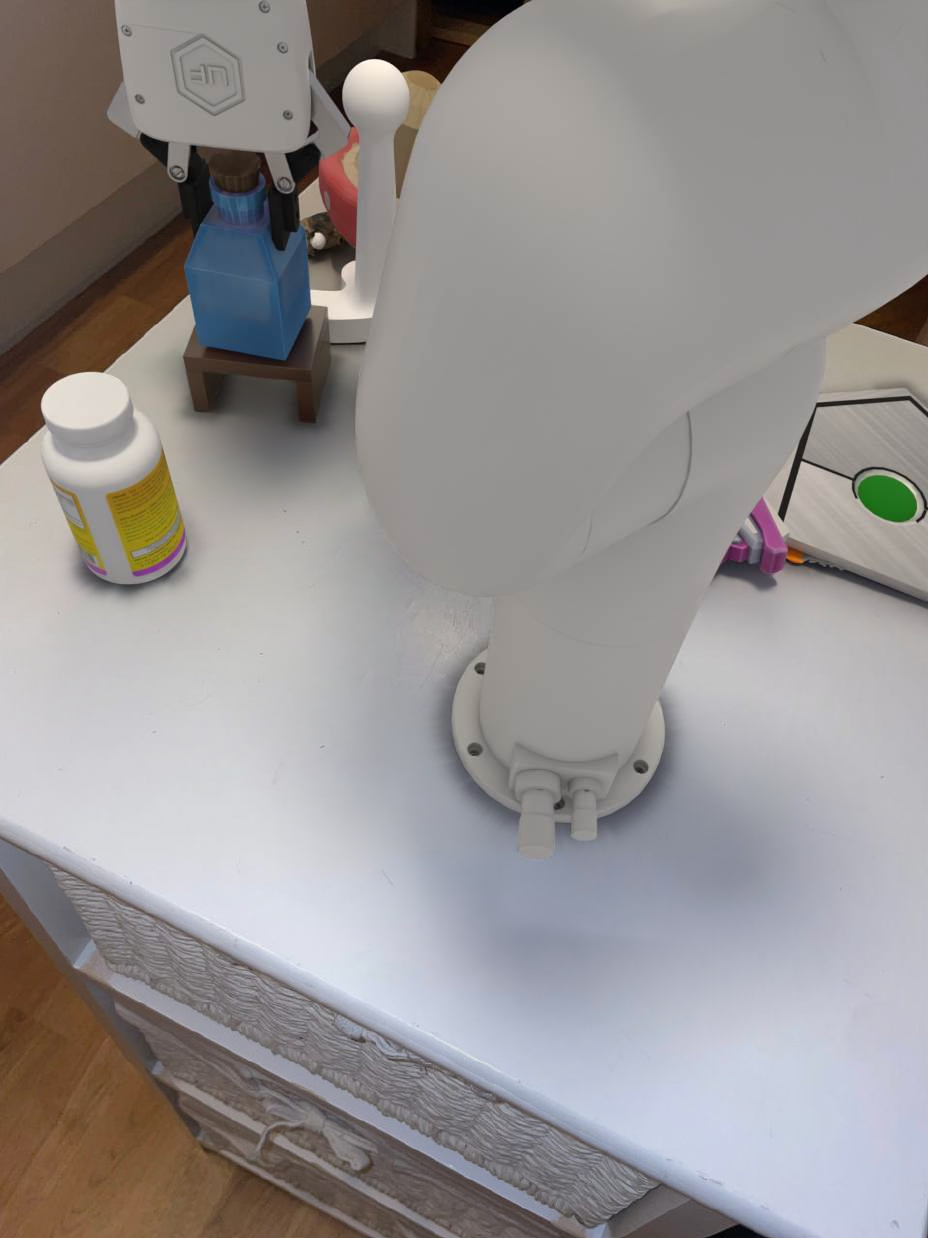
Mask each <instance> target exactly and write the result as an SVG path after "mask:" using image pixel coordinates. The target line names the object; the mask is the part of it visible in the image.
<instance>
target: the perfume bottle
mask: <svg viewBox="0 0 928 1238" xmlns="http://www.w3.org/2000/svg"><path fill="white" fill-rule="evenodd" d="M207 164H208V165H209V170H210V174H211V175H210V180H209V185H210V191H211V197H212V201H213V202H214V205H213V206H212V208H211V209H210V211H209V212H208V214H207V215H206V217H205V218H204V220H203V222H202V223H201V225H200V227H199V230H198V232H197V235H196V237H195V240H194V239H193V242H192V244H191V248H190V250H189V253H188V255H187V258H186V260H185V263H184V265H183V268H184V274H185V278H186V284H187V288H188V295H189V298H190V303H191V308H192V313H193V319H194V325H195V324H196V329H197V334H198V339H199V344H200V345H205V346H210V347H215V348H221V349H226V350H231V351H237V352H242V353H247V354H253V355H258V356H263V357H269V358H274V359H279V360H286V358H287V356H288V354H289V352H290V350H291V348H292V346H293V344H294V342H295V340H296V338H297V336H298V334H299V332H300V329H301V327H302V325H303V323H304V321H305V319H306V317H307V315H308V313H309V311H310V309H311V295H310V290H311V285H310V283H311V282H310V271H309V257H308V254H307V243H306V231H305V229H304V227H303V226H302V225H301V224H299V229H298V232H297V233H295V232H291V233H290V236H289V240H288V243H287V246H286V249H285V251H278V250H277V249H276V247H275V244H274V243H273V241H272V234H271V224H270V215H269V206H268V192H267V191H268V189H267V183H266V179H265V175H264V174H262V173H261V169H262V168H261V166H262V162H261V158H260V156H258V154H256V153H255V152H252V151H242V150H233V149H224V150H223V149H222V150H220V151H218V152H216V153H213V154H212V156H210V157H209V160H208V163H207Z"/></svg>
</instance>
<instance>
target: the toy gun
mask: <svg viewBox="0 0 928 1238" xmlns="http://www.w3.org/2000/svg"><path fill="white" fill-rule="evenodd" d="M789 534H790V531H789V530H788V528H787V527H786V526H785V524H784V523H783V521H782V520H781V519H780V517H779V516H778V514H777V513H776V512H775V510H774V509H773V507H772V506H771V505H770V503H769V502H768V500H767V499H764V498H763V496H762V497H761V499H760V500H759V502H758V503H757V505H756V506H755V507H754V509H753V510H752V512H751V513H750V514H749V516H748V517H747V519H746V520H745V522H744V523H743V525H742V526H741V528H740V529H739V531H738V533H737V534H736V536H735V538H734V539H733V541H732V543H731V545H730V546H729V548H728V550H727V552H726V554H725V556H724V557H723V559H722V561H721V563H720V565H722V564H723V563H725V562H726V561H727V560H730V561H734V562H736V563H737V562H738V563H742V562H745V561H747V563H748V564H759V569H760V571H762V572H763V573H765V574H766V575H772V574H776V573H778V572H780V571H782V570H783V568H784V567H785V564H786V560H787V559H786V556H787V552H788V548H787V546H786V544H785V541H786V540H787V539H788V537H789Z"/></svg>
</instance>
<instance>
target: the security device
mask: <svg viewBox="0 0 928 1238" xmlns="http://www.w3.org/2000/svg"><path fill="white" fill-rule="evenodd" d="M763 498H764V499H767V500H768V502H769V503H770V505H771V506H772V507H773V509H774V510H775V512H776V513H777V514H778V516H779V517H780V519H781V520H782V521H783V523H784V524H785V526H786V527H787V528H788V530H789V531H790V534H789V537H788V539H787V540H786V541H785V544H786V546H788V547H791V548H793V549H796V550H798V551H801V552H803V553H806V554H808V555H811V556H813V557H816V558H818V559H821V560H823V561H826V562H829V563H832V564H835V565H838V566H841V567H844V568H847V570H846V571H848V572H851V573H854V574H856V575H858V576H861V577H864V578H866V579H868V580H870V581H874V582H876V583H879V584H880V585H883V586H885V587H889V588H891V589H893V590H896V591H897V592H901V593H903V594H906V595H908V596H910V597H914V598H915V599H919V600H920V601H923V602H926V603H928V406H926V405H925V403H923V401H921V400H920V399H918V398H917V397H916V396H915V395H914V394H913V393H912V392H911V391H909V390H908V389H907V388H906V387H898V388H896V387H895V388H883V389H867V390H852V391H851V390H850V391H835V392H822V393H821V392H820V393H819V397H818V400H817V402H816V405H815V408H814V411H813V413H812V415H811V418H810V420H809V422H808V424H807V426H806V428H805V430H804V432H803V434H802V437H801V439H800V440H799V442H798V444H797V445H796V447H795V449H794V450H793V452H792V454H791V455H790V457H789V458H788V460H787V462H786V463H785V465H784V466H783V468H782V469H781V470H780V472H779V473H778V475H777V476H776V478H775V479H774V480H773V482H772V483H771V485H770V486H769V488H768V489H767V490H766V492H765V493H764V495H763Z"/></svg>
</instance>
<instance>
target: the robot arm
mask: <svg viewBox="0 0 928 1238" xmlns="http://www.w3.org/2000/svg"><path fill="white" fill-rule="evenodd" d="M114 9H115V19H116V20H115V21H116V29H117V38H118V39H117V40H118V46H119V47H118V48H119V52H120V53H119V54H120V61H121V68H122V76H123V78H122V80H121V82H120V84H119V87H118V88H117V90H116V92H115V94H114V96H113V98H112V100H111V102H110V104H109V105H108V108H107V110H106V115H107V118H108V119H109V121H110V122H111V123H112V124H114V125H116V126H117V127H118V128H119V129H121V130H122V131H124V132H125V133H126V134H128V135H129V136H131V137H132V138H134V139H138V140H139V141H140V143H141V146H142V147H143V148H144V149H146V150H147V151H148V152H149V153H150V154H151V155H152V156H153V157H154V158H155V159H157V161H159V162H160V163H161V164H162V165H163V166H164V167H165V168H166V170H167V171H166V172H167V175H168V177H169V178H170V179H171V180H172V181H173V182H176V183H177V189H178V192H179V198H180V199H179V200H180V204H181V209H182V216H183V219H184V221H185V222H190V224H191V230H192V234H193V241H194V240H195V237H196V235H197V232H198V230H199V227H200V225H201V223H202V222H203V220H204V218H205V217H206V215H207V214H208V212H209V211H210V209H211V208H212V206H213V205H214V202H213V201H212V197H211V191H210V185H209V180H210V177H211V170H210V168H209V164H208V163H207V161H206V158H204V157H202V156H201V155H200V154H199V147H206V148H215V149H222V150H223V149H224V150H227V149H233V150H242V151H251V152H253V153H263V154H264V157H265V160H266V163H267V165H268V169H269V172H270V175H271V184H270V187H269V189H268V192H267V199H268V206H269V215H270V224H271V234H272V241H273V243H274V244H275V247H276V249H277V250H278V251H285V249H286V246H287V243H288V240H289V236H290V233H291V232H295V233H297V232H298V229H299V224H300V221H301V211H300V199H299V188H298V187H299V185H298V184H299V183H300V182H301V181H303V179H304V178H305V177H306V176H307V175H309V174H310V173H311V172H312V171H313V170H314V169H315V168H316V167H317V166H319V162H320V161H322V160H323V159H326V158H328V157H330V156H331V155H333V154H335V153H336V152H338V151H339V150H341V149H343V148H344V147H346V146H347V144H348V141H349V137H350V134H351V126H350V124H349V122H348V121H347V120H346V118H345V117H344V115H343V113H341V111H340V110H339V108H338V107H337V105H336V104H335V102H334V101H333V100H332V98H331V96H330V95H329V94H328V92H327V91H326V90H325V88H324V86H323V85H322V84H321V82H320V81H319V80H318V78H317V76H316V75H317V73H316V63H315V55H314V47H313V39H312V33H311V32H312V31H311V25H310V19H309V13H308V7H307V0H114ZM441 84H442V85H441V86H440V88H439V89H438V91H437V93H436V95H435V97H434V98H433V100H432V102H431V104H430V106H429V108H428V110H427V112H426V113H425V115H424V118H423V120H422V123H421V125H420V128H419V131H418V133H417V136H416V139H415V142H414V146H413V149H412V153H411V156H410V160H409V163H408V167H407V170H406V174H405V178H404V181H403V186H402V190H401V194H400V199H399V203H398V207H397V212H396V216H395V220H394V225H393V229H392V233H391V238H390V242H389V246H388V251H387V255H386V259H385V264H384V268H383V272H382V277H381V281H380V285H379V290H378V294H377V298H376V303H375V307H374V311H373V316H372V320H371V324H370V329H369V333H368V337H367V341H366V342H365V346H364V350H363V356H362V359H361V365H360V370H359V376H358V383H357V388H356V396H355V397H356V398H355V415H354V416H355V419H354V420H355V421H354V422H355V423H354V424H355V427H354V428H355V429H354V430H355V431H354V432H355V447H356V455H357V456H356V457H357V461H358V462H357V463H358V467H359V472H360V473H359V474H360V477H361V481H362V485H363V488H364V493H365V495H366V498H367V501H368V504H369V506H370V509H371V511H372V514H373V515H374V517H375V520H376V522H377V524H378V526H379V527H380V529H381V531H382V532H383V534H384V535H385V538H386V539H387V541H388V542H389V543H390V545H391V546H392V548H393V549H394V551H396V553H397V554H398V555H399V556H400V557H401V558H402V559H403V560H404V561H405V563H407V564H408V565H409V566H410V567H411V568H412V569H413V570H415V571H416V572H417V573H419V575H421V576H422V577H424V578H426V579H427V580H429V581H430V582H432V583H434V584H436V585H437V586H440V587H441V588H443V589H446V590H448V591H451V592H453V593H456V594H460V595H463V596H467V597H474V598H486V599H487V598H488V599H489V598H491V599H492V598H495V602H494V608H493V615H492V621H491V627H490V633H489V640H488V645H487V646H488V647H487V648H485V649H484V650H483V651H481V652H480V653H479V654H478V655H477V656H476V657H474V659H472V661H471V662H469V664H468V665H467V667H466V668H465V670H464V672H463V674H462V675H461V677H460V679H459V681H458V683H457V687H456V689H455V693H454V695H453V700H452V707H451V733H452V738H453V742H454V747H455V749H456V752H457V754H458V756H459V758H460V762H461V763H462V765H463V767H464V768H465V770H466V772H467V773H468V774H469V776H470V777H471V778H472V779H473V782H474V783H476V784H477V785H478V786H479V787H480V788H481V789H482V790H483V791H484V792H485V793H486V795H488V796H489V797H490V798H492V799H494V800H495V801H496V802H498V803H500V804H501V805H503V806H504V807H505V808H507V809H509V810H512V811H514V812H516V813H518V814H520V817H519V819H518V835H517V854H519V856H521V857H523V858H526V859H530V860H546V859H547V860H548V859H549V858H552V857H553V856H554V855H555V850H556V849H555V848H556V847H555V844H556V823H561V824H562V823H564V824H565V823H566V824H570V825H571V826H570V836H571V838H572V839H574V840H577V841H580V842H591V841H594V840H595V839H597V838H598V819H600V818H603V817H605V816H609V815H612V814H614V813H615V812H617V811H619V810H621V809H622V808H624V807H626V806H627V805H629V804H630V803H631V802H632V801H633V800H634V799H635V798H637V797H638V796H639V795H640V794H642V792H643V790H644V789H645V788H646V786H647V785H648V784H649V783H650V781H651V779H652V778H653V776H654V775H655V772H656V770H657V768H658V766H659V764H660V761H661V758H662V755H663V751H664V748H665V740H666V739H665V738H666V725H665V724H666V723H665V718H664V717H665V716H664V711H663V707H662V705H661V703H660V700H659V698H660V697H659V696H660V695H661V692H662V691H663V688H664V686H665V683H666V681H667V679H668V677H669V675H670V673H671V670H672V668H673V666H674V663H675V662H676V659H677V657H678V655H679V653H680V650H681V648H682V646H683V644H684V642H685V639H686V637H687V635H688V633H689V630H690V628H691V626H692V624H693V621H694V619H695V617H696V615H697V614H698V613H697V612H698V611H699V609H700V607H701V605H702V603H703V601H704V600H705V597H706V595H707V593H708V591H709V588H710V586H711V584H712V582H713V580H714V579H715V578H714V577H715V575H716V573H717V571H718V569H719V567H720V565H721V564H720V563H721V561H722V559H723V557H724V556H725V554H726V552H727V550H728V548H729V546H730V545H731V543H732V541H733V539H734V538H735V536H736V534H737V533H738V531H739V529H740V528H741V526H742V525H743V523H744V522H745V520H746V519H747V517H748V516H749V514H750V513H751V512H752V510H753V509H754V507H755V506H756V505H757V503H758V502H759V500H760V499H761V497H762V496H763V495H764V493H765V492H766V490H767V489H768V488H769V486H770V485H771V483H772V482H773V480H774V479H775V478H776V476H777V475H778V473H779V472H780V470H781V469H782V468H783V466H784V465H785V463H786V462H787V460H788V458H789V457H790V455H791V454H792V452H793V450H794V449H795V447H796V445H797V444H798V442H799V440H800V439H801V437H802V434H803V432H804V430H805V428H806V426H807V424H808V422H809V420H810V418H811V415H812V413H813V411H814V408H815V405H816V402H817V400H818V397H819V393H821V390H822V385H823V380H824V375H825V368H826V362H827V361H826V360H827V337H829V336H831V335H833V334H834V333H837V332H839V331H841V330H842V329H845V328H846V327H848V326H850V325H852V324H854V323H855V322H858V321H859V320H861V319H863V318H865V317H866V316H868V315H870V314H872V313H874V312H875V311H877V310H878V309H880V308H882V307H883V306H884V305H886V304H887V303H889V302H891V301H893V300H894V299H895V298H897V297H899V296H900V295H901V294H903V293H904V292H906V291H908V290H909V289H910V288H912V287H914V286H915V285H916V284H917V283H918V282H919V281H921V280H922V279H923V278H925V277H926V276H927V275H928V0H529V1H528V2H526V3H523V5H521V6H519V7H517V8H516V9H514V10H513V11H511V12H510V13H508V14H507V15H505V16H504V17H502V18H501V19H499V20H498V21H497V22H495V23H494V24H493V25H492V26H491V27H490V28H488V29H487V30H486V32H484V33H483V34H481V36H480V37H479V38H478V39H477V40H476V41H475V42H473V44H472V45H471V46H470V47H469V48H468V49H467V50H466V52H464V53H463V55H462V56H461V57H460V59H458V61H457V62H456V63H455V65H454V66H453V68H452V69H451V70H450V72H449V73H448V74H447V76H446V77H445V79H444V81H443V82H442V83H441ZM311 121H312V122H313V124H314V125H315V126H316V128H317V130H316V132H315V133H313V134H309V133H310V128H311ZM472 754H475V755H472ZM638 771H639V772H638ZM555 806H556V807H557V808H558V809H556V808H555Z"/></svg>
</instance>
